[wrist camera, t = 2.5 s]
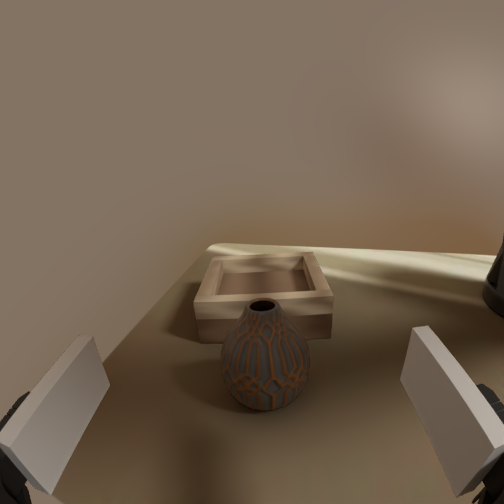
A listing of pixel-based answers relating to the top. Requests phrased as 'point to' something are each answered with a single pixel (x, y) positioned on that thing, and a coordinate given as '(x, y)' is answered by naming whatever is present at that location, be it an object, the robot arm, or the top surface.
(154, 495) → the top surface
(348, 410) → the top surface
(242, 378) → the vase
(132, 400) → the top surface
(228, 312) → the square wooden tray
